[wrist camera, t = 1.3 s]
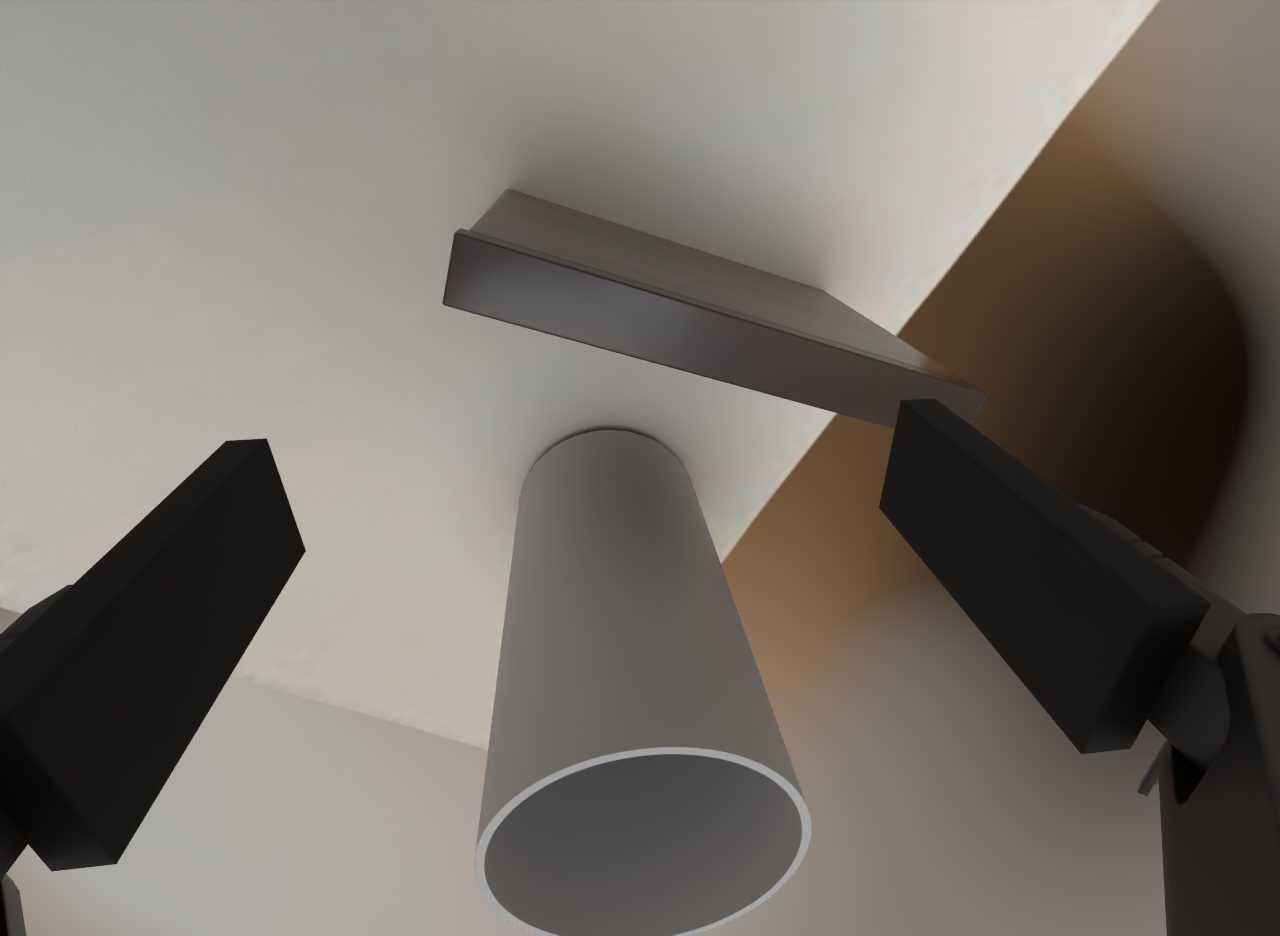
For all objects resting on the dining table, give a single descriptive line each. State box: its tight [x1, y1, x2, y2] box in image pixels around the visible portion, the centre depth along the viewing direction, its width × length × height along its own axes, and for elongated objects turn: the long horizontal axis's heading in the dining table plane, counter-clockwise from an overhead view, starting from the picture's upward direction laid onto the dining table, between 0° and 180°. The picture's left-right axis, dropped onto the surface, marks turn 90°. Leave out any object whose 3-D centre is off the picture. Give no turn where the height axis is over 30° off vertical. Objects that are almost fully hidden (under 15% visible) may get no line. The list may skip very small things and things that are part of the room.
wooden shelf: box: [443, 189, 988, 429], centre depth 31 cm, size 6×21×17 cm, turn 72°
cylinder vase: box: [474, 430, 811, 936], centre depth 34 cm, size 12×12×25 cm
